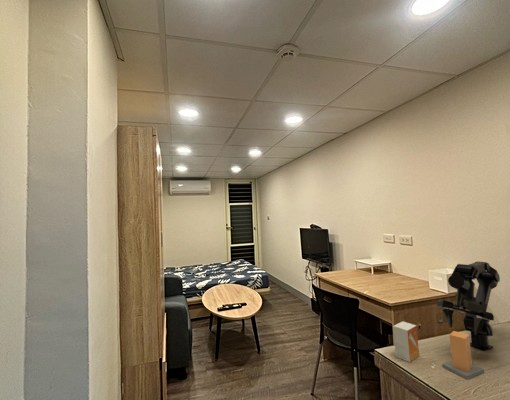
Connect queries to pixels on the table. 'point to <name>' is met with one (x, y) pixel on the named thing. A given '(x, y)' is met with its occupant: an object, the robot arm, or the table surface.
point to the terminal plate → (465, 374)
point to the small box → (406, 341)
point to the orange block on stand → (461, 351)
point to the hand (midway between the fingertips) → (463, 331)
